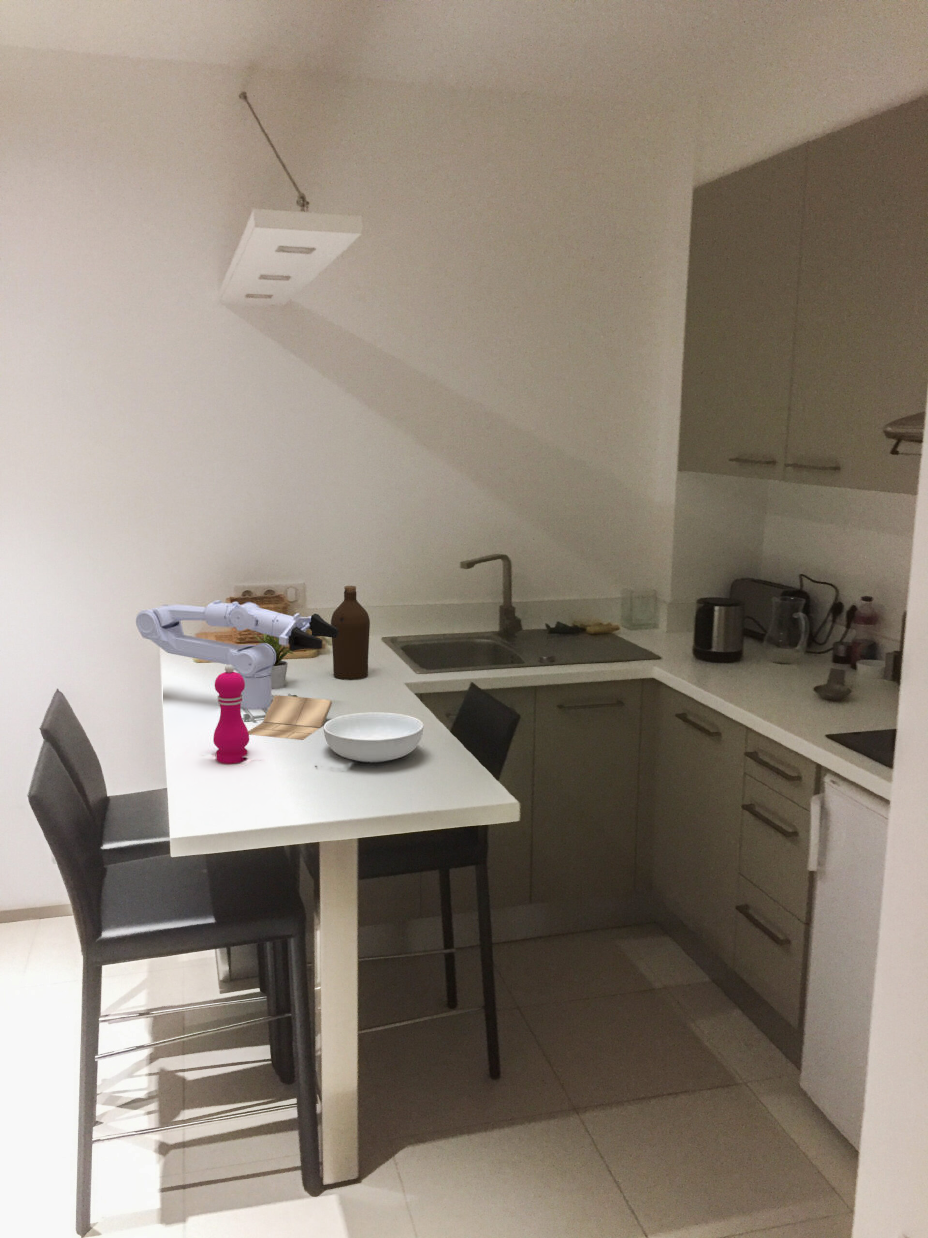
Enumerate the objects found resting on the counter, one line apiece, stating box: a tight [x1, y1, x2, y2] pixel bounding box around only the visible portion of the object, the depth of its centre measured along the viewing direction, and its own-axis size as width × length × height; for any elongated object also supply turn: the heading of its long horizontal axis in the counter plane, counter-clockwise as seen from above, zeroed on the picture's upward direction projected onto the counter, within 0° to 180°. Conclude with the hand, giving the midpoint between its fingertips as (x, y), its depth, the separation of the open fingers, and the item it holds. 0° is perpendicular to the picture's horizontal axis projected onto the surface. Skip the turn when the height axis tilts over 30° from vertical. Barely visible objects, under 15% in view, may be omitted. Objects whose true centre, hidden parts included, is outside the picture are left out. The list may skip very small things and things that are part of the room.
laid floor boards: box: [248, 722, 320, 741], centre depth 225 cm, size 14×9×1 cm, turn 75°
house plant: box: [253, 633, 295, 690], centre depth 265 cm, size 14×14×16 cm
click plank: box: [262, 694, 333, 729], centre depth 232 cm, size 14×8×1 cm
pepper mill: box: [212, 664, 250, 765], centre depth 207 cm, size 7×7×20 cm
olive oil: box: [330, 585, 371, 681], centre depth 278 cm, size 11×11×25 cm
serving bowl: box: [323, 711, 425, 764], centre depth 212 cm, size 21×21×7 cm
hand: (329, 638), depth 235 cm, fingers open, 7 cm apart
